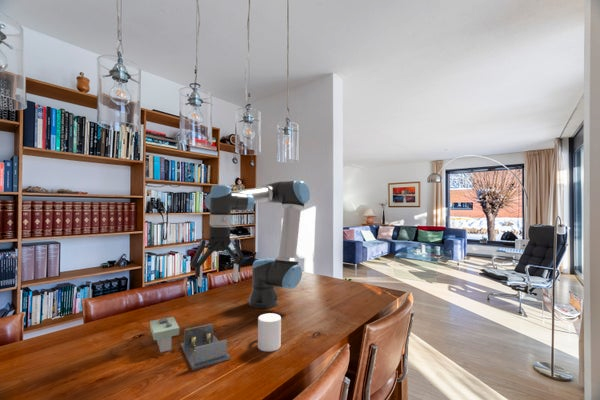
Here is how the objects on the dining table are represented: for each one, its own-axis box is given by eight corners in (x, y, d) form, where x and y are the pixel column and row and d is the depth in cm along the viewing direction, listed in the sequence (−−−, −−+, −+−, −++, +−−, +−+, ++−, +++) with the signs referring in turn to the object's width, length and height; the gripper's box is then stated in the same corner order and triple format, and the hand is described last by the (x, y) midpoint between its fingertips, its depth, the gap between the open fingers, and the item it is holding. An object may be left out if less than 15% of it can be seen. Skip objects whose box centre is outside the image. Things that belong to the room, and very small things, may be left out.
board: (149, 327, 105) (150, 318, 105) (173, 322, 109) (173, 314, 110) (153, 340, 95) (153, 330, 95) (179, 334, 99) (179, 324, 99)
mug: (263, 323, 97) (250, 312, 107) (263, 354, 96) (250, 339, 107) (285, 318, 101) (270, 308, 111) (284, 348, 101) (270, 335, 111)
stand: (156, 340, 105) (157, 327, 105) (166, 338, 107) (167, 325, 107) (160, 352, 97) (160, 337, 97) (171, 349, 99) (171, 335, 99)
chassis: (180, 345, 101) (181, 329, 102) (214, 337, 108) (214, 322, 108) (192, 370, 86) (192, 350, 87) (230, 359, 93) (230, 340, 93)
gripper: (187, 227, 96) (185, 290, 95) (254, 226, 110) (253, 281, 109) (182, 226, 102) (180, 285, 101) (246, 225, 116) (245, 277, 115)
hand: (218, 283), depth 105 cm, fingers open, 13 cm apart
